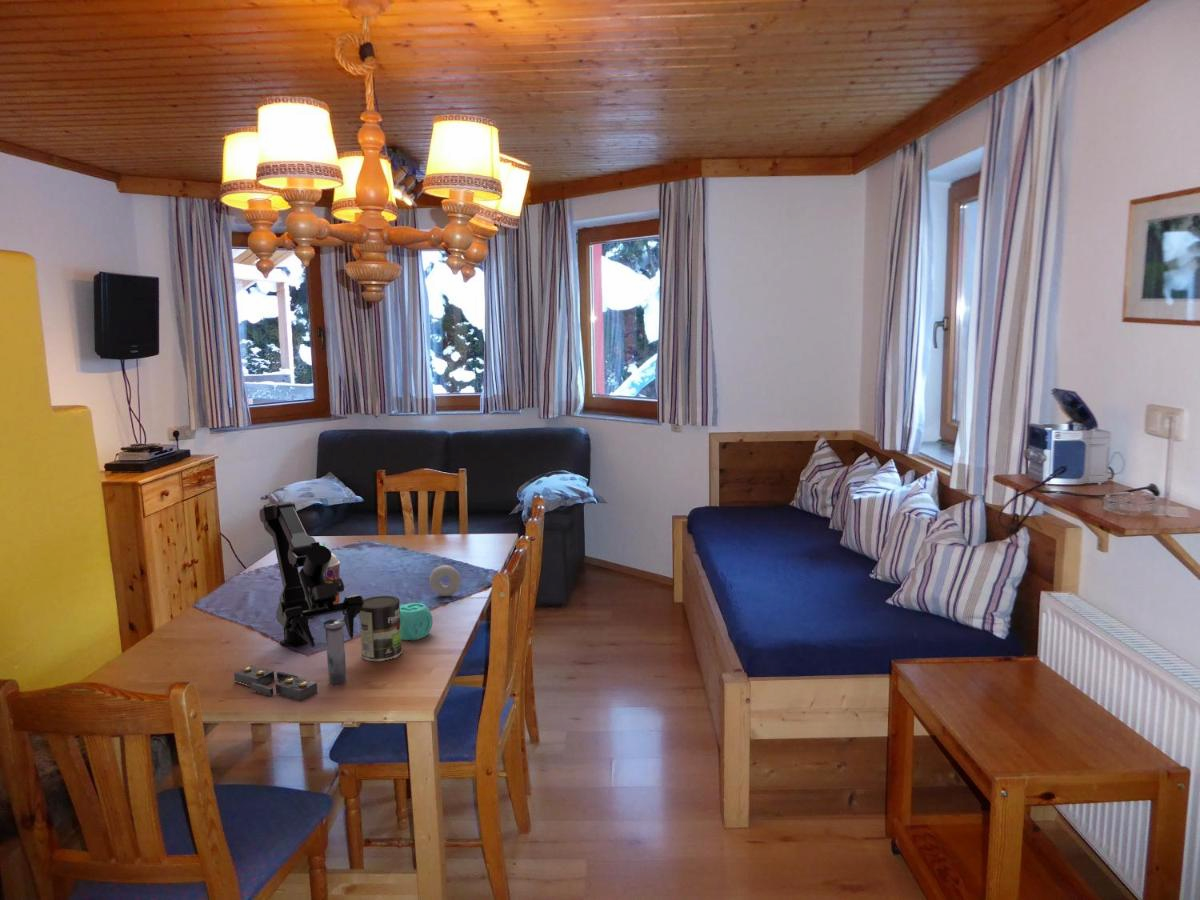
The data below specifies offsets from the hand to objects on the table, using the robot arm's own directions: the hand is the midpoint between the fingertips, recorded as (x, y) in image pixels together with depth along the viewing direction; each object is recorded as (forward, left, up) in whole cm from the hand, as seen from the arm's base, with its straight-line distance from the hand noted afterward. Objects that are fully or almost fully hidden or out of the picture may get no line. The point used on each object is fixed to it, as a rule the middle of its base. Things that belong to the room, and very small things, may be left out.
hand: (333, 642), depth 201 cm
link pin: (+2, -1, -10) cm, 10 cm away
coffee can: (-1, +17, -10) cm, 20 cm away
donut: (-17, +62, -10) cm, 66 cm away
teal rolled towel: (-3, +31, -10) cm, 33 cm away
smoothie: (-43, +38, -10) cm, 59 cm away
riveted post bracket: (-9, -10, -10) cm, 17 cm away
